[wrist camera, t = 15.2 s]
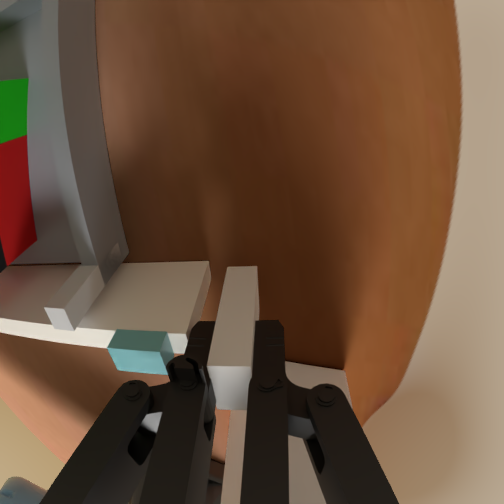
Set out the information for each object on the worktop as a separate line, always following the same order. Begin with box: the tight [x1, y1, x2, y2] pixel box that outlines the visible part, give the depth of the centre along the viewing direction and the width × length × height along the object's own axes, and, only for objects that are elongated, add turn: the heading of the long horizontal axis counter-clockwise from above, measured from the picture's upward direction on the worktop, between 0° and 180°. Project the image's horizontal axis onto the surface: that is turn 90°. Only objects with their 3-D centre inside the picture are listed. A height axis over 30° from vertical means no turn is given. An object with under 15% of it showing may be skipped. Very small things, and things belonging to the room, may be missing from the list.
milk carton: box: [221, 361, 353, 504], centre depth 15 cm, size 7×7×19 cm
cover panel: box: [0, 261, 211, 375], centre depth 16 cm, size 1×18×7 cm, turn 94°
